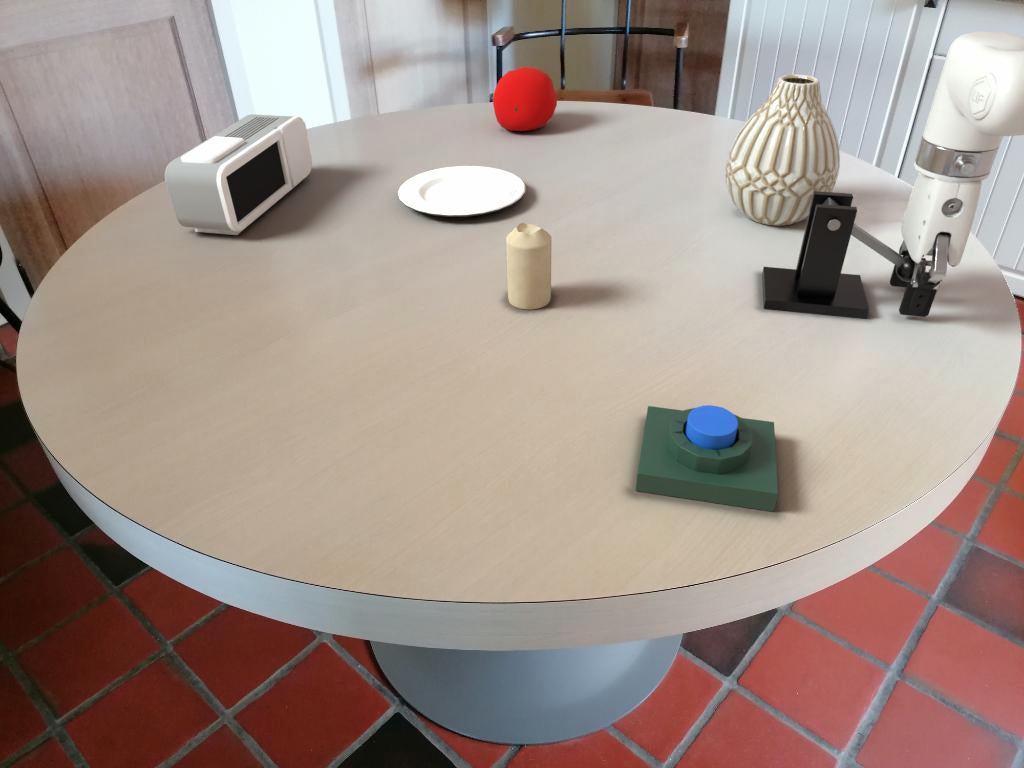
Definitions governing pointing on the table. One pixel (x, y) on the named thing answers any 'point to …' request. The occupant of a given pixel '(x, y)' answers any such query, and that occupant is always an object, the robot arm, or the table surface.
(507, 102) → the tomato
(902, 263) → the lever
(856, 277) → the switch bracket
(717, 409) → the button
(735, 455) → the switch box
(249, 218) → the alarm clock
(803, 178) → the vase
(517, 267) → the candle
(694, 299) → the table surface
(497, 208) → the plate
